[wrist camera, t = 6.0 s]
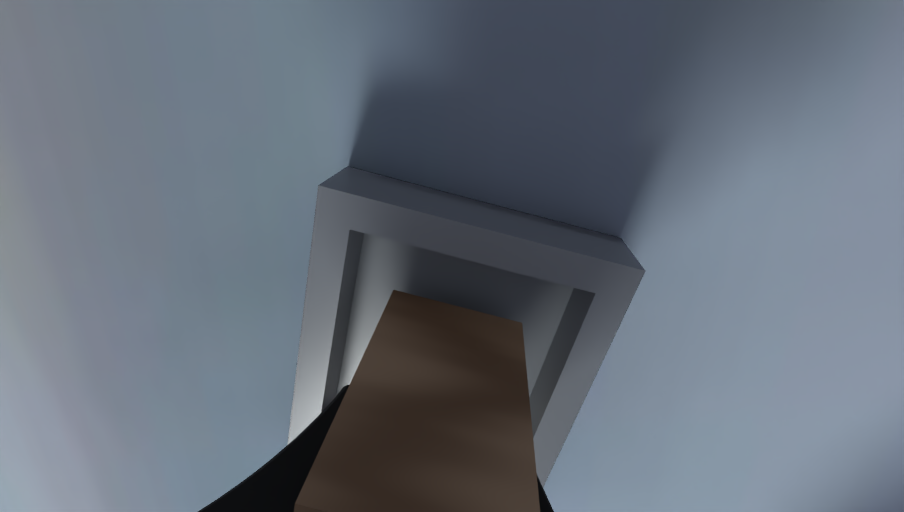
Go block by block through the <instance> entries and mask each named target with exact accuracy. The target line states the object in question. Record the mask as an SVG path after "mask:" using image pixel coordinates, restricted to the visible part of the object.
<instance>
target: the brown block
mask: <svg viewBox="0 0 904 512" xmlns="http://www.w3.org/2000/svg"><path fill="white" fill-rule="evenodd" d="M294 512H540V504H539V493H538V483H537V473H536V462H535V452H534V441H533V431H532V421H531V410H530V400H529V389H528V379H527V369H526V358H525V348H524V337H523V327H522V323H521V322H517V321H513V320H509V319H505V318H501V317H498V316H494V315H490V314H486V313H482V312H478V311H474V310H471V309H467V308H463V307H459V306H455V305H451V304H447V303H444V302H440V301H436V300H432V299H428V298H424V297H420V296H416V295H413V294H409V293H405V292H401V291H397V290H393V292H392V294H391V296H390V298H389V300H388V303H387V305H386V307H385V309H384V311H383V313H382V316H381V318H380V320H379V322H378V324H377V326H376V329H375V331H374V333H373V335H372V337H371V339H370V342H369V344H368V346H367V348H366V350H365V352H364V355H363V357H362V359H361V361H360V363H359V365H358V368H357V370H356V372H355V374H354V376H353V378H352V381H351V383H350V385H349V387H348V389H347V392H346V394H345V396H344V398H343V400H342V402H341V405H340V407H339V409H338V411H337V413H336V415H335V418H334V420H333V422H332V424H331V426H330V428H329V431H328V433H327V435H326V437H325V439H324V441H323V444H322V446H321V448H320V450H319V452H318V454H317V457H316V459H315V461H314V463H313V465H312V467H311V470H310V472H309V474H308V476H307V478H306V481H305V483H304V485H303V487H302V489H301V491H300V494H299V496H298V498H297V500H296V502H295V506H294Z"/></svg>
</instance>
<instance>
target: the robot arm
mask: <svg viewBox="0 0 904 512" xmlns="http://www.w3.org/2000/svg"><path fill="white" fill-rule="evenodd" d="M348 387H349V385H346V386H344V387H343V388H342V389H341V391H340V392H339V393H338V394H337V396H336V397H335V398H334V399H333V400H332V402H331V403H330V404H329V405H328V406H327V407H326V408H325V409H324V410H323V411H322V412H321V413H320V415H319V416H318V417H317V418H316V419H315V420H314V421H313V422H312V423H311V424H310V425H309V426H307V427H306V428H305V429H304V430H303V431H302V432H301V433H300V434H299V435H298V436H297V437H296V438H295V439H294V440H293V441H292V442H290V443H289V444H288V445H287V446H286V447H285V448H284V449H282V450H281V451H280V452H279V453H278V454H277V455H276V456H274V457H273V458H272V459H271V460H270V461H268V462H267V463H266V464H265V465H263V466H262V467H261V468H260V469H258V470H257V471H256V472H254V473H253V474H252V475H251V476H249V477H248V478H247V479H245V480H244V481H243V482H241V483H240V484H238V485H237V486H235V487H234V488H233V489H231V490H230V491H228V492H227V493H225V494H224V495H223V496H221V497H220V498H218V499H217V500H215V501H214V502H212V503H211V504H209V505H208V506H206V507H205V508H203V509H201V510H200V511H198V512H294V506H295V502H296V500H297V498H298V496H299V494H300V491H301V489H302V487H303V485H304V483H305V481H306V478H307V476H308V474H309V472H310V470H311V467H312V465H313V463H314V461H315V459H316V457H317V454H318V452H319V450H320V448H321V446H322V444H323V441H324V439H325V437H326V435H327V433H328V431H329V428H330V426H331V424H332V422H333V420H334V418H335V415H336V413H337V411H338V409H339V407H340V405H341V402H342V400H343V398H344V396H345V394H346V392H347V389H348ZM537 483H538V493H539V504H540V512H554V511H553V509H552V507H551V505H550V503H549V500H548V498H547V496H546V494H545V491H544V489H543V487H542V485H541V482H540V480H539V478H538V475H537Z"/></svg>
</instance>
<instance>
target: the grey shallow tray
mask: <svg viewBox="0 0 904 512" xmlns="http://www.w3.org/2000/svg"><path fill="white" fill-rule="evenodd" d="M644 273H645V270H644V268H643V267H642V266H641V264H640V263H639V262H638V260H637V259H636V258H635V256H634V255H633V254H632V252H631V251H630V250H629V248H628V247H627V246H626V244H625V243H624V242H623V240H622V239H621V238H618V237H615V236H611V235H607V234H603V233H599V232H596V231H592V230H588V229H584V228H580V227H577V226H573V225H569V224H565V223H561V222H557V221H554V220H550V219H546V218H542V217H538V216H535V215H531V214H527V213H523V212H519V211H516V210H512V209H508V208H504V207H500V206H496V205H493V204H489V203H485V202H481V201H477V200H474V199H470V198H466V197H462V196H458V195H454V194H451V193H447V192H443V191H439V190H435V189H432V188H428V187H424V186H420V185H416V184H413V183H409V182H405V181H401V180H397V179H393V178H390V177H386V176H382V175H378V174H374V173H371V172H367V171H363V170H359V169H355V168H352V167H346V168H345V169H343V170H341V171H340V172H338V173H337V174H335V175H334V176H332V177H331V178H329V179H327V180H326V181H324V182H323V183H321V184H320V185H318V193H317V201H316V209H315V218H314V226H313V235H312V243H311V251H310V260H309V268H308V277H307V285H306V293H305V302H304V310H303V319H302V327H301V335H300V344H299V352H298V361H297V369H296V377H295V386H294V394H293V403H292V411H291V419H290V428H289V436H288V444H289V443H290V442H292V441H293V440H294V439H295V438H296V437H297V436H298V435H299V434H300V433H301V432H302V431H303V430H304V429H305V428H306V427H307V426H309V425H310V424H311V423H312V422H313V421H314V420H315V419H316V418H317V417H318V416H319V415H320V413H321V412H322V411H323V410H324V409H325V408H326V407H327V406H328V405H329V404H330V403H331V402H332V400H333V399H334V398H335V397H336V396H337V394H338V393H339V392H340V391H341V389H342V388H343V387H344V386H346V385H350V383H351V381H352V378H353V376H354V374H355V372H356V370H357V368H358V365H359V363H360V361H361V359H362V357H363V355H364V352H365V350H366V348H367V346H368V344H369V342H370V339H371V337H372V335H373V333H374V331H375V329H376V326H377V324H378V322H379V320H380V318H381V316H382V313H383V311H384V309H385V307H386V305H387V303H388V300H389V298H390V296H391V294H392V292H393V290H397V291H401V292H405V293H409V294H413V295H416V296H420V297H424V298H428V299H432V300H436V301H440V302H444V303H447V304H451V305H455V306H459V307H463V308H467V309H471V310H474V311H478V312H482V313H486V314H490V315H494V316H498V317H501V318H505V319H509V320H513V321H517V322H521V323H522V327H523V337H524V348H525V358H526V369H527V379H528V389H529V400H530V410H531V421H532V431H533V441H534V452H535V462H536V473H537V475H538V478H539V480H540V482H541V485H542V487H544V485H545V482H546V480H547V478H548V476H549V474H550V472H551V470H552V468H553V465H554V463H555V461H556V459H557V457H558V455H559V453H560V451H561V449H562V446H563V444H564V442H565V440H566V438H567V436H568V434H569V432H570V430H571V427H572V425H573V423H574V421H575V419H576V417H577V415H578V413H579V410H580V408H581V406H582V404H583V402H584V400H585V398H586V396H587V394H588V391H589V389H590V387H591V385H592V383H593V381H594V379H595V377H596V375H597V372H598V370H599V368H600V366H601V364H602V362H603V360H604V358H605V355H606V353H607V351H608V349H609V347H610V345H611V343H612V341H613V339H614V336H615V334H616V332H617V330H618V328H619V326H620V324H621V322H622V320H623V317H624V315H625V313H626V311H627V309H628V307H629V305H630V303H631V300H632V298H633V296H634V294H635V292H636V290H637V288H638V286H639V284H640V281H641V279H642V277H643V275H644Z"/></svg>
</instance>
